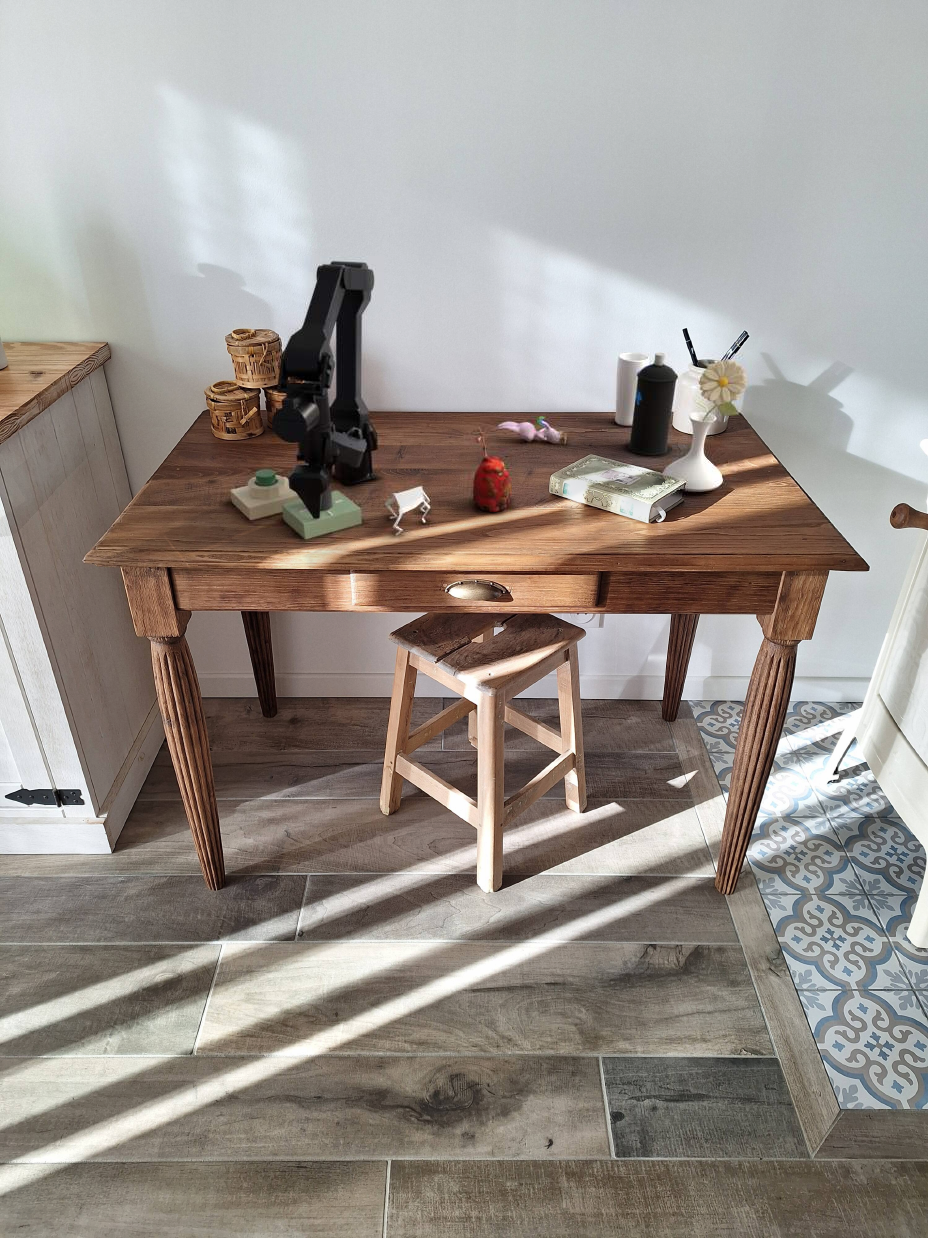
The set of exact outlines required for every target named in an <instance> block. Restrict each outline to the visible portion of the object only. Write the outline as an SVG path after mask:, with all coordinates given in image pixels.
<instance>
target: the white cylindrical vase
mask: <svg viewBox="0 0 928 1238" xmlns="http://www.w3.org/2000/svg"><path fill="white" fill-rule="evenodd" d="M647 365H650V357H649V355H647V354H645V353H641V352H624V353H620V354H619V355H618V359H617V366H616V367H617V368H616V379H615V384H616V386H615V412H614V413H615V415H614V421H615V423H616V424H617V425H620V426H624V427H632V422H633V414H634V405H635V397H636V389H637V380H638V377H637V373H638V372H639V371H641V369H643V368H644V367H645V366H647Z"/></svg>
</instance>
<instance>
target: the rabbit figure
mask: <svg viewBox="0 0 928 1238" xmlns="http://www.w3.org/2000/svg"><path fill="white" fill-rule="evenodd" d="M545 419H546V417H545V416H539V417H538V418H537V420H536V423H537V425H538V426H539V427H541V428H542V429H540V430H538V431H537V430H536V427H535V426H534V424H532V423H531V422H529V421H528V422H527V421H524V422H520V423H519V422H518V423H517V422H515V421H504V422H502V423H500V424H498V425H497V430H509V431H511V432H514V433H515V434H517V437H518V438H519V439H522V440H525V441H526V442H528V443H529V442H531V441H533V440H534V439H535V437H537V438H538V439H539V440H541V441H547V442H549V443H551V444H553V445H556V444H559V442H560V441H561V439H563V440H564V441H563V443H564V445H566V442H567V440H568V438H567V437H568V436H567V433H568V432H567V431H565V432H564V431H562V430H560V431H557V430H556V429H555V428H552V427H550V425H549V424H548V422H545V421H544V420H545Z"/></svg>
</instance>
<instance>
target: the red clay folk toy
mask: <svg viewBox="0 0 928 1238" xmlns="http://www.w3.org/2000/svg"><path fill="white" fill-rule="evenodd" d="M476 428H477V429H478V431H479V433H475V434H474V435H476V436H479V437H476V438H475V442H476V443H477V444H480V442H481V440H482V450H483V452H484V457H483V458H482V460H481V463H480V464H479V466H478V467H477V469H476V470H475V472H474V473H475V474H474V478H473V486H472V494H473V495H472V498H473V502H475V504H476V506H478V508H480V509H481V510H482V511H488V512H490V513H497V512H500V511H501V510H505V509H506V508H507V507H508V506H507V505H509V504H510V503H511V500H510V498H511V496H512V485H511V481H510V476H509V475H510V474H509V472H508V471H507V469H506V468H505V466H506V465H505V463H504V462H503V461H501V460H500V458H499V457H497V456H492V457H489V456H488V453H487V450H486V449H487V447H488V446H487V444H485V440H484V434H486V433H487V432H488V429H487V430H485V431H484V432H483V431H482V429H481V428H480V427H479V426H477V427H476Z"/></svg>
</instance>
